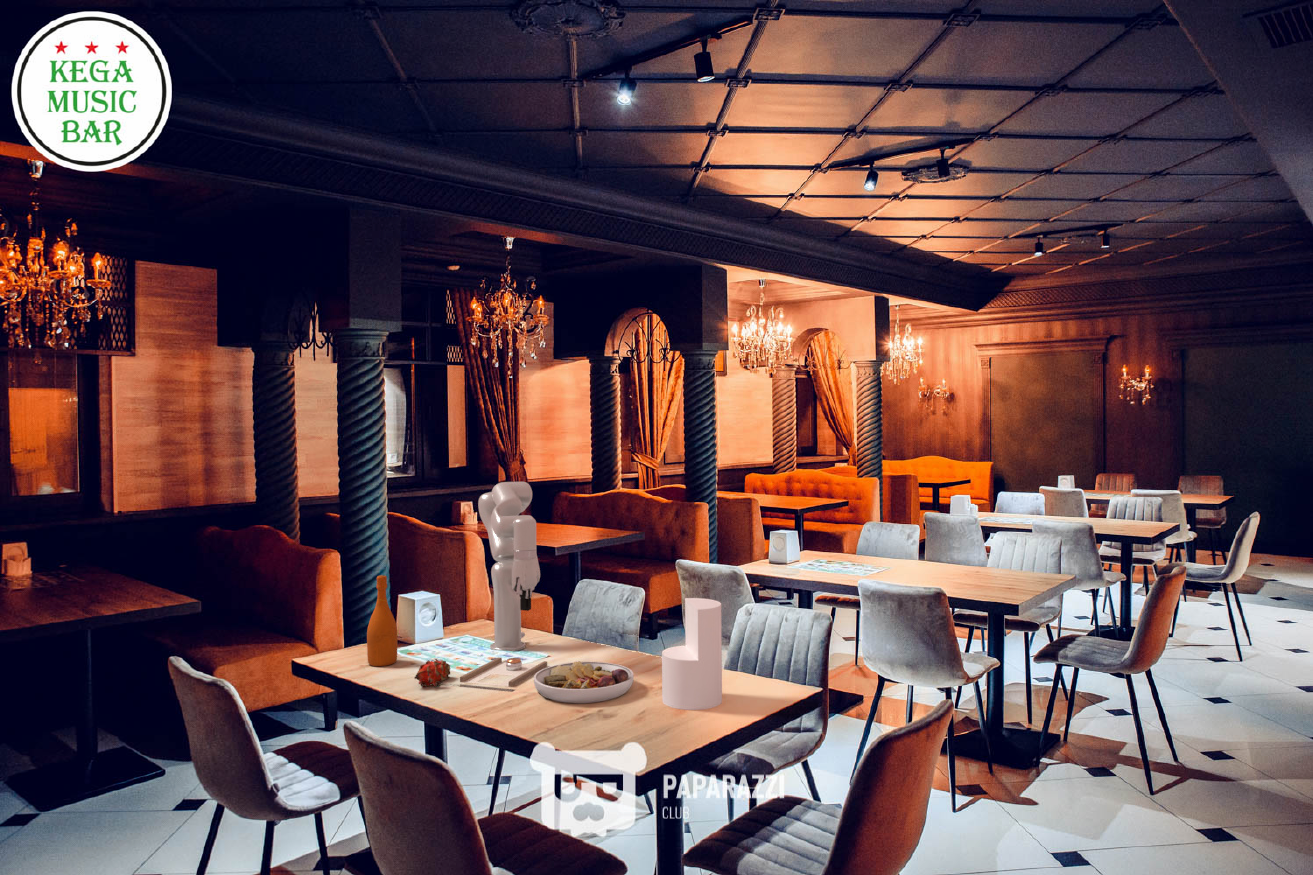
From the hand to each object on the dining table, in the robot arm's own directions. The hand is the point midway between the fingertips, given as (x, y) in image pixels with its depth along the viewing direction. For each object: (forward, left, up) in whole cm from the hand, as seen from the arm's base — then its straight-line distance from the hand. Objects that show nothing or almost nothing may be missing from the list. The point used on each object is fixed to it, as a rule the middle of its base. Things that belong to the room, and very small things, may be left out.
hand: (525, 609), depth 285 cm
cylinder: (+18, +63, -19) cm, 68 cm away
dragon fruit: (+27, -18, -19) cm, 38 cm away
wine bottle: (+10, -49, -19) cm, 54 cm away
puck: (+8, 0, -17) cm, 19 cm away
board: (+14, 0, -19) cm, 24 cm away
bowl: (+18, +29, -20) cm, 39 cm away
